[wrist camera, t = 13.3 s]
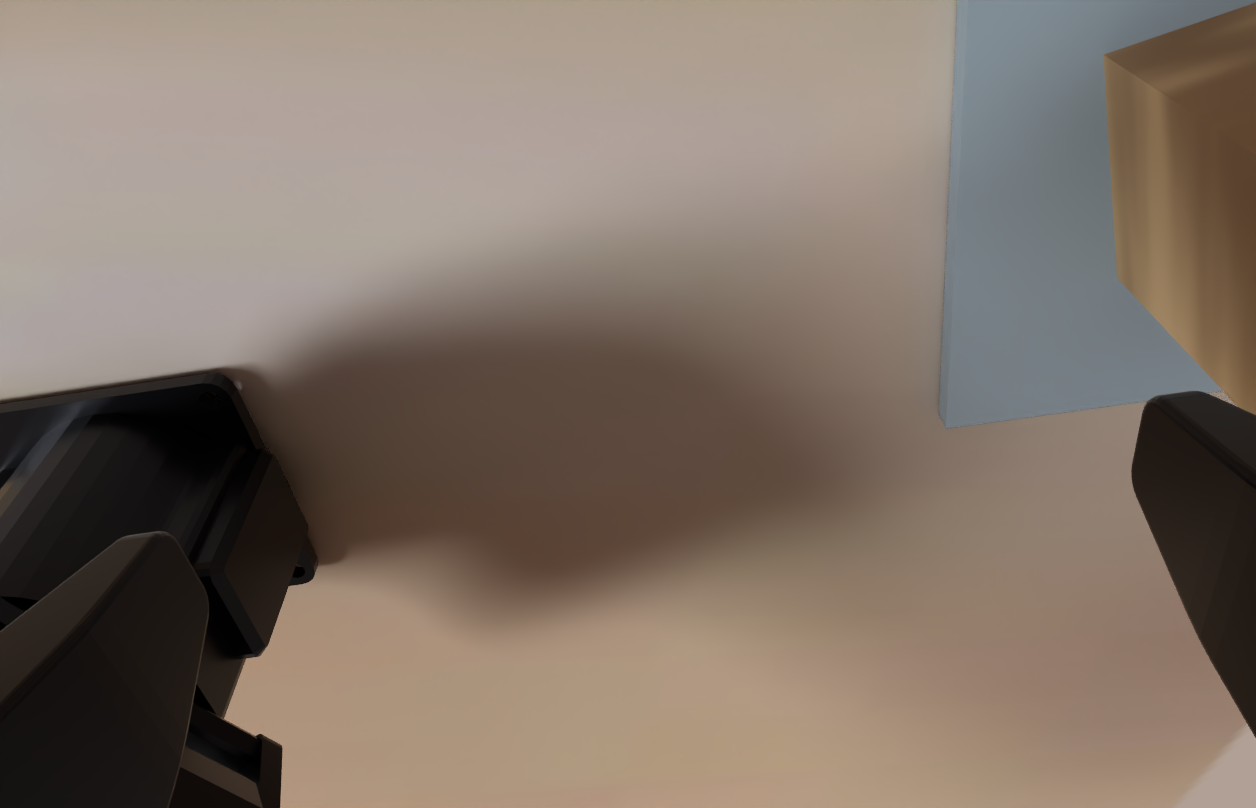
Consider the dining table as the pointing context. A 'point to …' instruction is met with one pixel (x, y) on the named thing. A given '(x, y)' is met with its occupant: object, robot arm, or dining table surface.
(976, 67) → the slate pad
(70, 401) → the robot arm
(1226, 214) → the oak block
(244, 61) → the dining table surface
